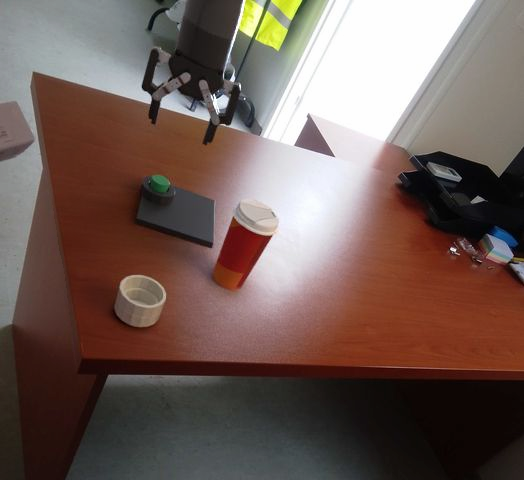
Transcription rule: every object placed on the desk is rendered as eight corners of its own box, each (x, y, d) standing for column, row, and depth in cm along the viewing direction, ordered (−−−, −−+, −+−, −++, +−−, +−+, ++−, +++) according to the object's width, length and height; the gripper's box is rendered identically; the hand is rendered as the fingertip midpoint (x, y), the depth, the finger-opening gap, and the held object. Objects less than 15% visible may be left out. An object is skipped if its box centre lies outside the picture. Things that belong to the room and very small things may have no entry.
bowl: (110, 322, 62) (116, 299, 59) (117, 292, 67) (123, 269, 64) (155, 334, 65) (164, 312, 62) (160, 304, 69) (167, 282, 66)
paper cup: (236, 263, 84) (267, 199, 74) (255, 293, 80) (290, 229, 71) (199, 263, 79) (227, 194, 70) (216, 295, 76) (249, 227, 66)
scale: (131, 222, 79) (135, 208, 77) (142, 180, 89) (145, 166, 87) (211, 248, 84) (217, 235, 82) (213, 205, 94) (218, 192, 92)
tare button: (148, 189, 83) (151, 181, 82) (150, 180, 85) (153, 172, 84) (166, 195, 84) (168, 187, 83) (167, 186, 86) (170, 178, 85)
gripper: (156, 4, 59) (132, 125, 70) (258, 53, 63) (220, 159, 74) (163, -8, 64) (139, 106, 75) (257, 38, 68) (221, 139, 79)
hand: (179, 132), depth 74 cm, fingers open, 8 cm apart
